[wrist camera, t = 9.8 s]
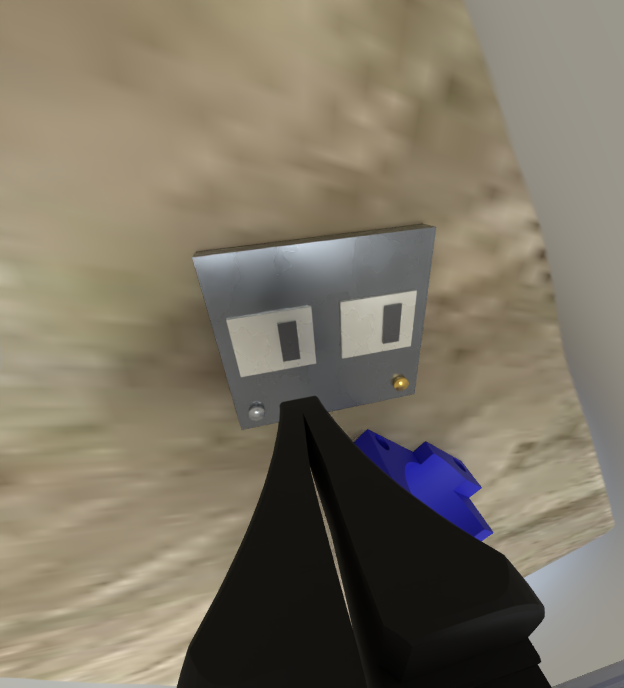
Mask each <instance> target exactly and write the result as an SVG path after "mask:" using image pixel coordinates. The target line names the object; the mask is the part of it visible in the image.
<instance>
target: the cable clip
mask: <svg viewBox="0 0 624 688" xmlns="http://www.w3.org/2000/svg"><path fill="white" fill-rule="evenodd" d="M354 443H355V444H356V445H357V446H358V447H359V448H360V449H361V451H362V452H363V453H364V454H365V455H366V456H368V457H369V458H370V459H371V460H372V461H373V462H374V463H375V464H376V465H377V466H378V467H379V468H380V469H382V470H383V471H384V472H385V473H386V474H387V475H388V476H390V477H391V478H392V479H393V480H394V481H396V482H397V483H398V484H399V485H401V486H402V487H403V488H404V489H406V490H407V491H408V492H410V493H411V494H412V495H414V496H415V497H416V498H418V499H419V500H420V501H422V502H423V503H424V504H426V505H427V506H429V507H430V508H431V509H433V510H434V511H435V512H437V513H438V514H440V515H441V516H443V517H444V518H446V519H447V520H449V521H450V522H452V523H453V524H455V525H456V526H458V527H459V528H461V529H462V530H464V531H466V532H467V533H469V534H470V535H472V536H473V537H475V538H477V539H478V540H480V541H483V540H484V539H485V538H487V537H488V536H490V535H491V534H492V533H494V532H493V531H492V530H491V528H490V527H489V525H488V524H487V523H486V521H485V520H484V518H483V517H482V516H481V514H480V513H479V511H478V510H477V509H476V507H475V506H474V504H473V503H472V502H471V500H470V499H469V497H471V496H472V495H473V494H474V493H476V492H477V491H478V490H480V489H481V488H482V487H481V486H480V485H479V483H478V482H477V481H476V479H475V478H474V477H473V476H472V474H471V473H470V472H469V470H468V469H467V468H466V467H465V465H464V464H463V463H462V461H460V460H458V459H456V458H454V457H453V456H451V455H449V454H447V453H445V452H444V451H442V450H440V449H438V448H436V447H435V446H433V445H431V444H429V443H427V442H426V441H425V442H424V443H423V444H422V445H421V446H419V447H418V448H417V449H416V450H415V451H414V452H412V451H410V450H408V449H406V448H404V447H402V446H400V445H398V444H396V443H394V442H392V441H390V440H388V439H386V438H384V437H382V436H380V435H378V434H376V433H374V432H372V431H370V430H368V429H367V430H366V431H365V432H364V433H363V434H362V435H361V436H360V437H359V438H358V439H357V440H356V441H355V442H354Z"/></svg>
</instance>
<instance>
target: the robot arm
mask: <svg viewBox="0 0 624 688" xmlns="http://www.w3.org/2000/svg"><path fill="white" fill-rule="evenodd" d="M279 407H280V416H279V425H278V432H277V437H276V442H275V447H274V452H273V456H272V459H271V463H270V467H269V470H268V474H267V477H266V480H265V483H264V487H263V490H262V493H261V495H260V498H259V501H258V504H257V506H256V509H255V512H254V514H253V516H252V519H251V521H250V524H249V526H248V529H247V531H246V534H245V536H244V538H243V541H242V543H241V545H240V547H239V549H238V552H237V554H236V556H235V558H234V560H233V562H232V564H231V566H230V568H229V570H228V572H227V575H226V577H225V579H224V581H223V583H222V585H221V587H220V589H219V591H218V593H217V595H216V597H215V598H214V600H213V602H212V604H211V606H210V608H209V610H208V611H207V613H206V615H205V617H204V619H203V621H202V622H201V624H200V626H199V628H198V630H197V632H196V634H195V635H194V637H193V639H192V641H191V643H190V645H189V647H188V650H187V653H186V656H185V660H184V663H183V666H182V670H181V673H180V677H179V681H178V685H177V688H624V660H622V661H619V662H616V663H614V664H611V665H609V666H606V667H603V668H601V669H598V670H595V671H593V672H590V673H587V674H585V675H582V676H580V677H577V678H575V679H572V680H569V681H567V682H564V683H561V684H559V685H556V686H553V687H551V686H550V684H549V682H548V681H547V679H546V677H545V676H544V674H543V672H542V671H541V669H540V668H539V666H538V664H539V663H540V662H541V659H540V656H539V655H538V653H537V651H536V650H535V648H534V646H533V645H532V643H531V642H530V640H529V638H528V637H529V636H530V634H531V633H532V632H533V631H534V630H535V629H536V628H537V627H538V625H539V624H540V623H541V622H542V620H543V619H544V617H545V610H544V606H543V604H542V603H541V601H540V600H539V599H538V597H537V596H536V594H535V593H534V591H533V590H532V589H531V587H530V586H529V584H528V583H527V582H526V581H525V579H524V578H523V577H522V576H521V574H520V573H519V572H518V571H517V570H516V568H515V567H514V566H513V565H512V564H511V562H510V561H509V560H508V559H507V558H506V557H505V555H503V554H502V553H500V552H498V551H497V550H495V549H493V548H492V547H490V546H488V545H487V544H485V543H483V542H482V541H480V540H478V539H477V538H475V537H473V536H472V535H470V534H469V533H467V532H466V531H464V530H462V529H461V528H459V527H458V526H456V525H455V524H453V523H452V522H450V521H449V520H447V519H446V518H444V517H443V516H441V515H440V514H438V513H437V512H435V511H434V510H433V509H431V508H430V507H429V506H427V505H426V504H424V503H423V502H422V501H420V500H419V499H418V498H416V497H415V496H414V495H412V494H411V493H410V492H408V491H407V490H406V489H404V488H403V487H402V486H401V485H399V484H398V483H397V482H396V481H394V480H393V479H392V478H391V477H390V476H388V475H387V474H386V473H385V472H384V471H383V470H382V469H380V468H379V467H378V466H377V465H376V464H375V463H374V462H373V461H372V460H371V459H370V458H369V457H368V456H366V455H365V454H364V453H363V452H362V451H361V449H360V448H359V447H358V446H357V445H356V444H355V443H354V442H353V441H352V440H351V439H350V438H349V437H348V436H347V435H346V433H345V432H344V431H343V430H342V429H341V428H340V427H339V425H338V424H337V423H336V422H335V421H334V419H333V418H332V417H331V415H330V414H329V413H328V412H327V410H326V409H325V407H324V406H323V404H322V403H321V401H320V400H319V398H318V397H317V396H310V397H305V398H300V399H295V400H290V401H285V402H282V403H281V404H280V405H279ZM310 468H311V470H310ZM311 472H312V475H313V478H314V481H315V484H316V487H317V490H318V494H319V497H320V500H321V503H322V506H323V509H324V512H325V516H326V519H327V522H328V525H329V529H330V532H331V536H332V539H333V544H334V548H335V552H336V557H337V561H338V565H339V570H340V574H341V578H342V583H343V587H344V592H345V596H346V601H347V605H348V609H349V614H350V618H351V622H350V618H349V615H348V611H347V607H346V604H345V600H344V596H343V593H342V589H341V585H340V582H339V578H338V575H337V571H336V567H335V564H334V560H333V556H332V552H331V549H330V545H329V541H328V537H327V533H326V530H325V526H324V522H323V518H322V514H321V510H320V506H319V503H318V499H317V495H316V491H315V487H314V483H313V479H312V475H311ZM351 623H352V625H351ZM352 628H353V629H352Z"/></svg>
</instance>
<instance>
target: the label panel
mask: <svg viewBox="0 0 624 688" xmlns="http://www.w3.org/2000/svg"><path fill="white" fill-rule="evenodd" d="M435 232H436V227H434V226H430V225H426V224H419V225H411V226H403V227H394V228H386V229H378V230H370V231H362V232H354V233H346V234H337V235H329V236H321V237H313V238H305V239H297V240H289V241H280V242H272V243H264V244H256V245H248V246H240V247H232V248H223V249H215V250H207V251H199V252H196V253H195V254H194V256H193V257H192V259H193V262H194V265H195V269H196V272H197V276H198V279H199V283H200V286H201V290H202V293H203V297H204V300H205V304H206V307H207V311H208V314H209V318H210V321H211V325H212V328H213V332H214V335H215V339H216V342H217V346H218V349H219V353H220V356H221V360H222V363H223V367H224V370H225V373H226V377H227V380H228V384H229V387H230V391H231V394H232V398H233V401H234V405H235V408H236V412H237V415H238V419H239V422H240V426H241V429H242V430H244V429H248V428H253V427H258V426H263V425H268V424H272V423H277V422H279V416H280V407H279V405H280V404H281V403H282V402H285V401H290V400H295V399H300V398H305V397H310V396H317V397H318V398H319V400H320V401H321V403H322V404H323V406H324V407H325V409H326V410H327V412H330V411H335V410H340V409H345V408H349V407H354V406H359V405H364V404H369V403H374V402H378V401H383V400H388V399H393V398H398V397H402V396H407V395H412V394H414V393H415V386H416V378H417V370H418V363H419V355H420V347H421V340H422V332H423V324H424V316H425V309H426V301H427V293H428V286H429V278H430V270H431V263H432V255H433V247H434V240H435Z"/></svg>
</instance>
